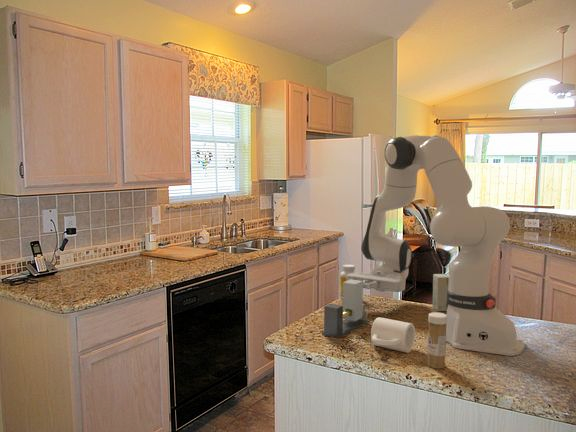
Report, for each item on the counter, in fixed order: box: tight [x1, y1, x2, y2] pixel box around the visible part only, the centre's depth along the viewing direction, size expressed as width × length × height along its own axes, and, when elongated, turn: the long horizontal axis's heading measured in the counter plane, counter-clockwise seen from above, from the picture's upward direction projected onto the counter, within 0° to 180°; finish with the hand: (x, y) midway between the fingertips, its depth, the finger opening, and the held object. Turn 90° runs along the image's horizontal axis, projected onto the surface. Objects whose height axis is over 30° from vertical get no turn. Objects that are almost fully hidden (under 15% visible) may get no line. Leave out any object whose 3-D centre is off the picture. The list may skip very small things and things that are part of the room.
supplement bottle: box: [339, 264, 356, 300], centre depth 186 cm, size 7×7×13 cm
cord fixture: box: [321, 303, 369, 339], centre depth 151 cm, size 6×19×9 cm, turn 145°
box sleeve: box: [342, 279, 364, 321], centre depth 155 cm, size 4×5×12 cm
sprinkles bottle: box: [426, 311, 447, 369], centre depth 122 cm, size 5×5×13 cm
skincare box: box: [432, 273, 449, 312], centre depth 171 cm, size 6×4×12 cm
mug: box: [370, 316, 416, 354], centre depth 133 cm, size 12×10×8 cm
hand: (365, 286), depth 161 cm, fingers closed
